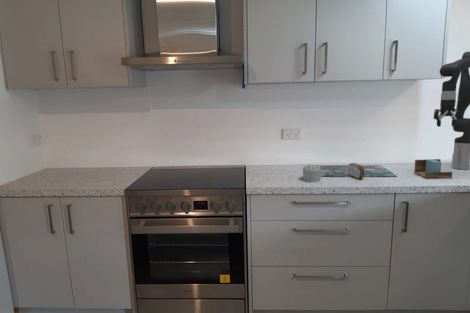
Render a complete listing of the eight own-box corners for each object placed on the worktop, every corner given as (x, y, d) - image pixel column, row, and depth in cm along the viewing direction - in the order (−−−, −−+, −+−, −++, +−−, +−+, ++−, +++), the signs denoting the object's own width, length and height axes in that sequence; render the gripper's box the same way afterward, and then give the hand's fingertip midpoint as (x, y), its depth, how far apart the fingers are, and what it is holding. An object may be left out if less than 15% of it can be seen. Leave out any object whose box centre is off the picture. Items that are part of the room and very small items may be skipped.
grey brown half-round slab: (364, 180, 199) (365, 166, 197) (359, 180, 198) (360, 166, 197) (351, 174, 213) (352, 161, 212) (347, 174, 213) (347, 161, 211)
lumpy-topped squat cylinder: (318, 176, 210) (319, 163, 208) (322, 182, 197) (322, 167, 195) (302, 177, 211) (302, 163, 209) (304, 182, 198) (304, 168, 196)
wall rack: (414, 173, 209) (415, 159, 208) (438, 173, 209) (439, 159, 208) (426, 179, 196) (427, 164, 195) (451, 178, 196) (453, 163, 195)
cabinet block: (425, 172, 206) (426, 159, 205) (432, 172, 206) (433, 159, 205) (432, 175, 199) (433, 162, 197) (440, 174, 199) (441, 161, 197)
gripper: (456, 98, 200) (453, 125, 203) (432, 99, 200) (430, 126, 203) (464, 98, 193) (462, 126, 195) (440, 99, 193) (437, 127, 196)
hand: (446, 126), depth 199 cm, fingers open, 8 cm apart
